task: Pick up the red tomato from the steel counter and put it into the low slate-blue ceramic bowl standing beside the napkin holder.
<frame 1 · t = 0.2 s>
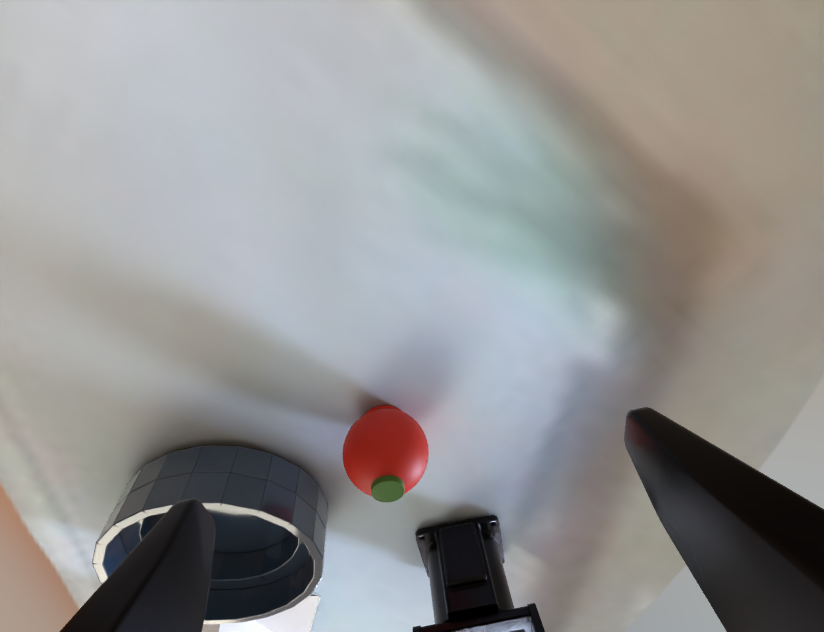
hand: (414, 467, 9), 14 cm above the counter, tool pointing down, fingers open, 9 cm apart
bowl: (231, 505, 31), on the counter
tomato: (384, 421, 28), on the counter
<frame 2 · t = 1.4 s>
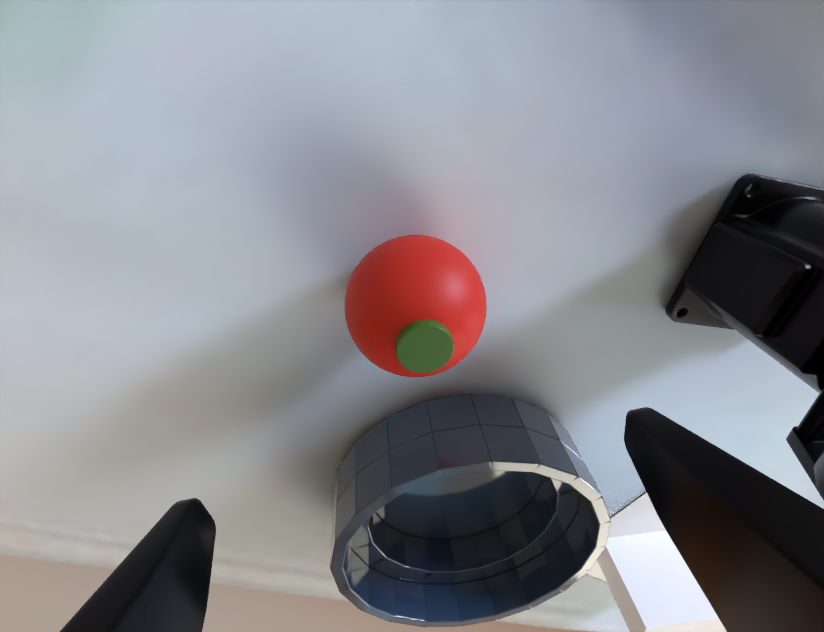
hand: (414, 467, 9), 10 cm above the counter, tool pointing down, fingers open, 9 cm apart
bowl: (455, 478, 25), on the counter
tomato: (408, 275, 18), on the counter
napkin holder: (678, 544, 31), on the counter
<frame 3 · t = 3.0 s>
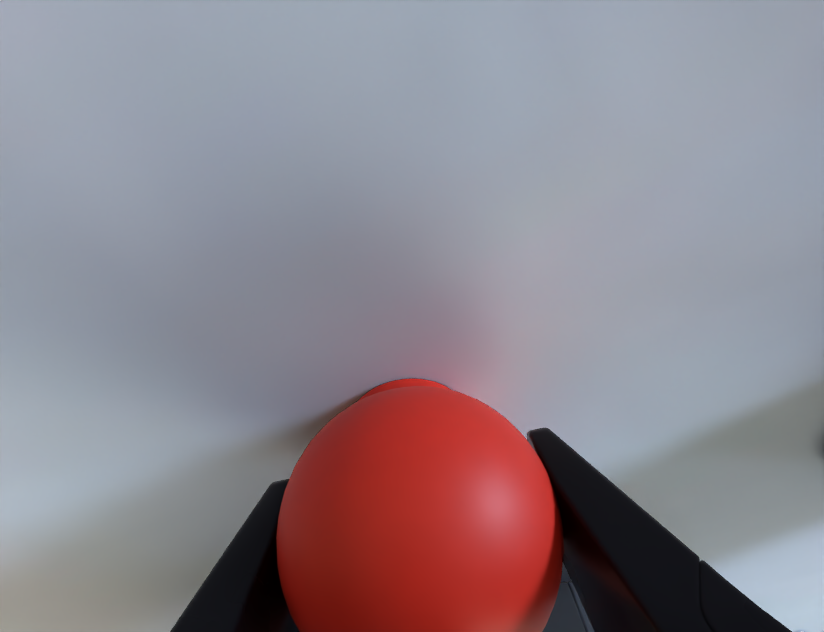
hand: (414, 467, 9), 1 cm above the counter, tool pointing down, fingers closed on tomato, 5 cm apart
tomato: (407, 424, 10), on the counter, touching gripper
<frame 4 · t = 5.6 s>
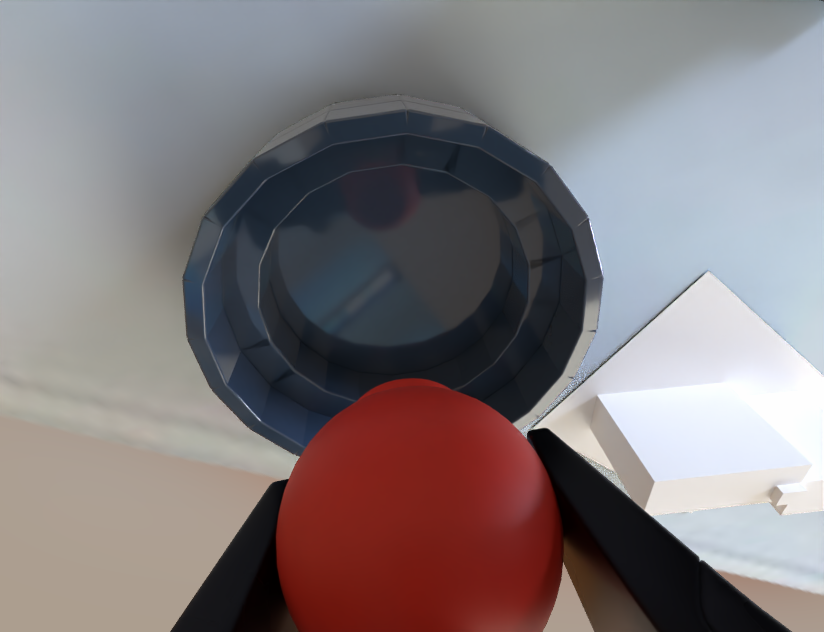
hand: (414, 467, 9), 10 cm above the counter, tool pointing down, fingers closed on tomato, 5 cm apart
bowl: (393, 273, 18), on the counter
tomato: (407, 424, 10), point 9 cm above the counter, touching gripper
napkin holder: (695, 413, 25), on the counter
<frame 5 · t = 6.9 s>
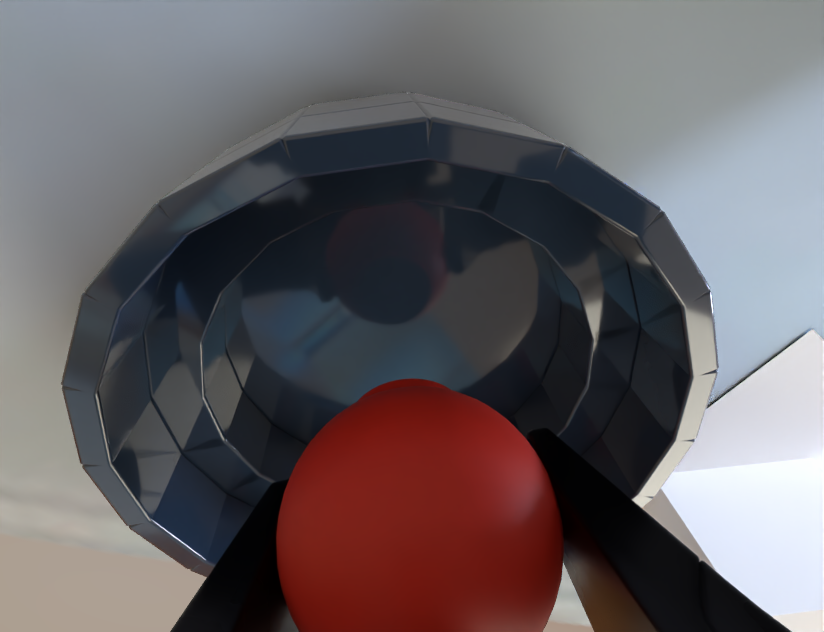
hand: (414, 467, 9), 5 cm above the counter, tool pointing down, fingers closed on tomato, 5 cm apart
bowl: (397, 336, 13), on the counter
tomato: (407, 424, 10), point 4 cm above the counter, touching gripper
napkin holder: (769, 491, 20), on the counter
when the fingers open (2 cm above the counter, at t = 8.2 s): tomato stays where it is, resting on bowl.
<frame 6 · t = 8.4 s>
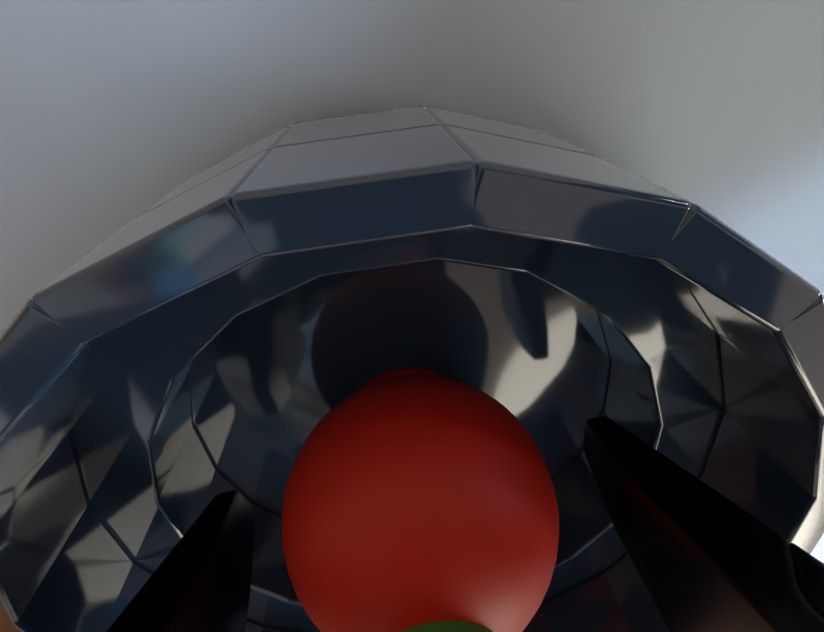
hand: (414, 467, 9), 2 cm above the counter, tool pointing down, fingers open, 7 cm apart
bowl: (405, 401, 11), on the counter
tomato: (408, 414, 10), resting on bowl
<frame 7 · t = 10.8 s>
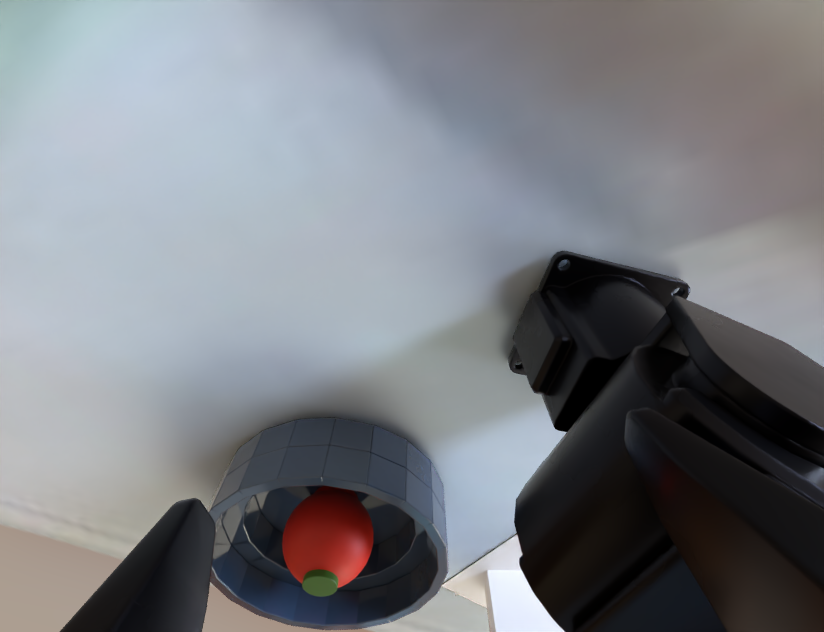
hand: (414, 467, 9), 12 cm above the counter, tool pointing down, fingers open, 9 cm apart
bowl: (336, 493, 27), on the counter
tomato: (335, 499, 27), resting on bowl
napkin holder: (567, 586, 32), on the counter
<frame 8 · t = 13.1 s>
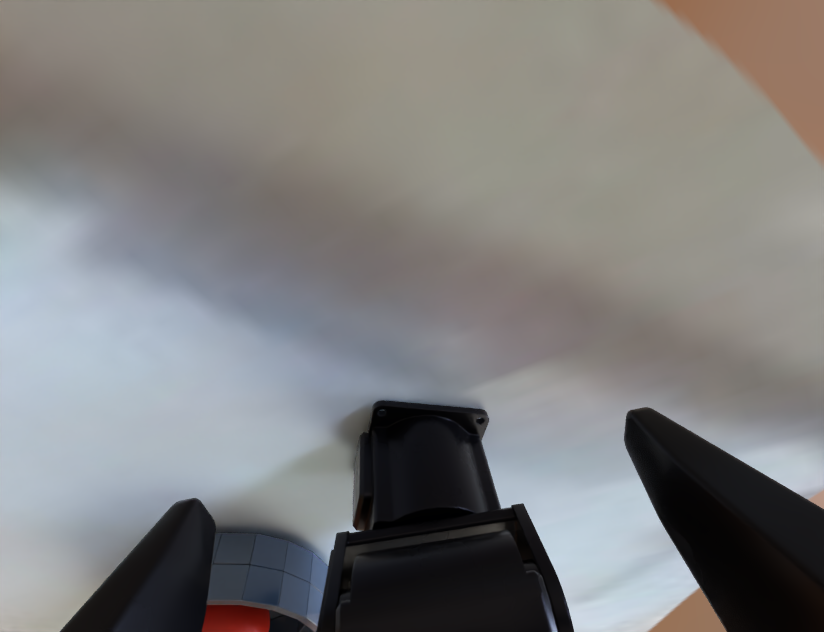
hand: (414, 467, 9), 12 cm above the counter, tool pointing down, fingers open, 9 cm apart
bowl: (240, 581, 32), on the counter
tomato: (239, 588, 31), resting on bowl
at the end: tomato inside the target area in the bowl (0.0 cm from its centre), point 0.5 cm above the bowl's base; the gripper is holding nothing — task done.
